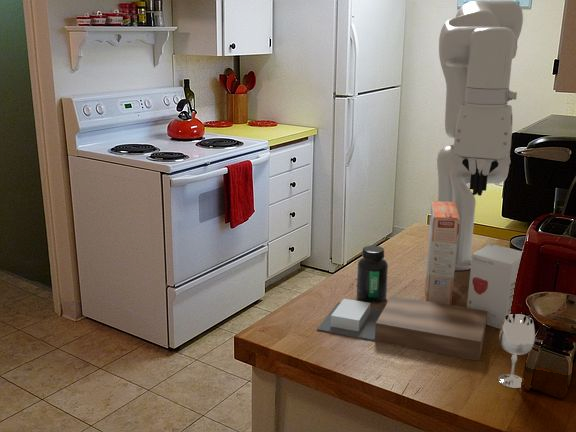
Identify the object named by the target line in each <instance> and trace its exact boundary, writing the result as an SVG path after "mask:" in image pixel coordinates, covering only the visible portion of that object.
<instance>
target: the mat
mask: <svg viewBox="0 0 576 432" xmlns="http://www.w3.org/2000/svg"><path fill="white" fill-rule="evenodd" d="M340 303H341V302H339V301H338V302H337V303H336V304H335V305H334V306H333V308H332V309H331V311H329V313H328V314H327V315H326V317H325V318H324V320H323V321H322V322H321V323H320V324H319V326H318V327H317V328H316V330H317V331H320V332H323V333H325V332H326V333H330V334H336V335H340V336H346V337H351V338H356V339H361V340H365V341H366V340H367V341H374V342H375V326H376V322H377V320H378V318H379V316H380V315H381V313H382V311H383V310H384V309H380V308H375V307H370V314H369V316H368V318H367V319H366V321H365V322H364V324H363V326H362V327H361V329H360V330H359V332H358V331H353V330H348V329H342V328H337V327H331V315H332V314H333V312H334V311H335V310H336V308H337V307H338V306H339V304H340Z"/></svg>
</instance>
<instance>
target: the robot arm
mask: <svg viewBox="0 0 576 432" xmlns="http://www.w3.org/2000/svg"><path fill="white" fill-rule="evenodd" d="M523 17H524V16H523V10H522V8H521V6H520V4H519V3H517V2H516V1H514V0H473V1H468V2H467V3H465V4H463V5H462V6H461V7H460V8H459V9H458V11H457V13H456V15H455V17H453V18H450V19H448V20H446V21H445V22H444V24H443V25H442V26H441V30H440V33H439V37H438V38H439V39H438V55H439V62H440V67H441V70H442V73H443V76H444V79H445V84H446V85H445V86H446V94H445V96H446V97H445V111H444V112H445V113H444V114H445V115H444V116H445V117H444V129H445V133H446V135H447V137H449V138H451V139H453V140H454V142H453V144H449V145H447V146H444V147H442V148H441V149H440V150H439V152H438V154H437V157H436V166H437V168H436V169H437V177H438V178H437V182H438V183H437V184H438V186H437V187H438V191H437V201H439V202H454V203H456V207H457V211H458V215H459V219H460V221H459V231H458V240H457V250H456V261H455V271H467V270H471V260H472V246H473V233H474V226H475V225H474V224H475V213H476V203H477V202H476V196H477V195H478V197H479V196H480V197H481V196H482V194H483V191H484V192H485V191H487V185H488V184H493V185H494V184H496V185H497V184H502V183H503V182H505V181H506V179H507V178H508V174H509V169H510V165H511V156H510V155H511V149H512V140H513V139H512V136H513V108H512V105H511V104H508V102H510V101H512V100H516V101H517V95H518V92H517V91H511V89H510V80H511V73H512V65H513V63H512V62H513V59H515V58H516V56H517V50H518V41H519V38H520V36H521V35H520V34H521V32H522V29H523V28H522V27H523V22H524V21H523V20H524V18H523ZM468 184H469V187H468Z"/></svg>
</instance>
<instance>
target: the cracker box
mask: <svg viewBox="0 0 576 432" xmlns="http://www.w3.org/2000/svg"><path fill="white" fill-rule="evenodd" d="M429 218H430V220H429V232H428V234H429V235H428V242H427V243H428V244H427V255H426V268H425V270H426V271H425V279H424V283H425V284H424V285H425V301H428V302H434V303H440V304H447V305H452V303H453V301H452V300H453V289H454V281H455V280H454V279H455V271H456V270H455V261H456V250H457V240H458V231H459V221H460V219H459V215H458V211H457V207H456V203H454V202H439V201H438V200H437V201H436V200H434V201H433V200H432V201H431V205H430V217H429Z"/></svg>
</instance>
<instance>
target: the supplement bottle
mask: <svg viewBox="0 0 576 432" xmlns="http://www.w3.org/2000/svg"><path fill="white" fill-rule="evenodd" d="M361 256H362V257H361V258H360V259H359V260H358V262H357V271H356V272H357V276H356V297H357V299H358V301H361V302H367V303H370V304H379V303H382V302H384V301H385V300H386V299H387V291H388V274H389V272H388V271H389V269H388V268H389V264H388V262H387V260H386V259H385V249H384V248H383V247H382V246H379V245H366V246H363V248H362V253H361Z"/></svg>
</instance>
